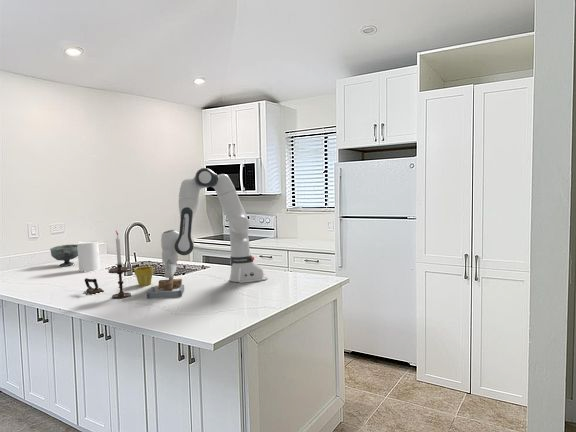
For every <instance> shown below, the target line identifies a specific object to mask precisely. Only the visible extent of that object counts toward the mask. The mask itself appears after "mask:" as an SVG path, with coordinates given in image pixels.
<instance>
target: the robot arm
mask: <svg viewBox="0 0 576 432" xmlns="http://www.w3.org/2000/svg"><path fill="white" fill-rule="evenodd" d="M209 187H210V188H211V187H212V188H213V189H214V191H215V194H216V195H217V197H218V201H219V202H220V206H221V208H222V211H223V213H224V215H225V217H226V220H227V221H228V228H229V229H228V231H229V240H230V241H229V242H230V259H229V262H230V275H229V280H228V281H230V282H235V283H241V284H243V283H252V282H261V281H266V280H268V275H267V274H266V273H265V274H264V270H263V268H262V266H260V265H259V264H258V263H256V262H255V257H254V256H253V255H251V254H250V253H251V252H250V239H249V227H250V224H251V223H250V220H249V218H248V217H249V216H248V215H247V212H246V211H245V209H244V206H243V205H242V202H241V200H240V197H239V195H238V192H237V190H236V188H235V185H234V183H233V182H232V180H231V178H230V177H229V175H228V174H225V173H220V174H217V173H215V172H214V171H213V170H212V169H210V168H208V167H207V168H206V167H202V168H200V169H198V170H197V171H196V173H195V175H194V177H193V178H186V179H183V180H182V182H181V184H180V188H179V193H178V212H179V216H180V218H179V219H180V220H179V221H180V222H179V231H176V229H170V230H167V231H166V230H165V231H164V232H163V233H161V237H160V238H161V239H160V242H161V243H160V246H161V250H162V251H161V261H162V263H164V278H166V279H168V280H169V279H174V274H175V273H176V272H177V269H178V268H177V266H178V264H177V263H178V262H179V255H180V256H188V255H190V254H191V253H192V252H193V250H194V245H195V244H194V242H195V240H194V239H193V237H192V224H193V219H194V216H195V214H196V212H197V209H198V204H199V199H200V198H199V197H200V196H199V195H200V191H201V189H207V188H209Z"/></svg>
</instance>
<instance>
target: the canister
mask: <svg viewBox="0 0 576 432" xmlns="http://www.w3.org/2000/svg"><path fill="white" fill-rule="evenodd" d="M76 245H77V248H78V256H77V260H78V272H79V271H93V272H95V271H94V270H98V271H100V270H101V263H100V262H101V260H100V258H101V257H100V249H99V247H100V245H99V241H98V240H90V241H89V240H88V241H80V242H77V243H76ZM99 269H100V270H99Z"/></svg>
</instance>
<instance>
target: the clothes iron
mask: <svg viewBox="0 0 576 432" xmlns="http://www.w3.org/2000/svg"><path fill="white" fill-rule="evenodd" d="M97 281H98V279H97V278H87V277H86V278H84V283H85V285H86V290H85V293H86V292H87V293H89V294H88V295H90V294H94V295H97V294H96V293H98V294H101V293H100V292H102V293H104V292H105V290H103V289H102V288H99V285H98V282H97ZM90 283H93V285H94V287H95V288H94V287H92V286H90ZM87 293H86V294H87Z"/></svg>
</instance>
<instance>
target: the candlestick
mask: <svg viewBox="0 0 576 432" xmlns="http://www.w3.org/2000/svg"><path fill="white" fill-rule="evenodd" d="M115 232H116V233H115V234H116V238H115V246H116V247H115V248H116V260H117V263H115V265H116V266H117V267H113V268H109V269H108V273H109V274H117V275H118V281H117V284H118V285H119V286H118V288H119V292H118V293H115V294H112V295H111V298H112V299H113V300H115V299H117V300H119V299H127V298H129V297H131V296H132V295H131V294H132V293H131V292H124V291H123V290H124V289H123V288H124V281H123V276H122V274H124V273H127V272H130V271H132V267H129V266H123V263H122V254H121V252H122V251H121V238H120V237H119V233H118V231H117V230H115Z"/></svg>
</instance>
